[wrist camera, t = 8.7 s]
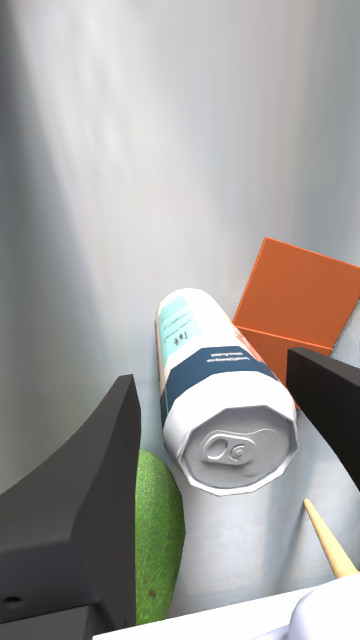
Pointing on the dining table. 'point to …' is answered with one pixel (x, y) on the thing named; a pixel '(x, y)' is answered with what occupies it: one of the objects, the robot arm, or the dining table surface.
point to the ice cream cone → (330, 545)
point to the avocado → (156, 537)
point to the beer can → (219, 400)
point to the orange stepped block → (295, 303)
